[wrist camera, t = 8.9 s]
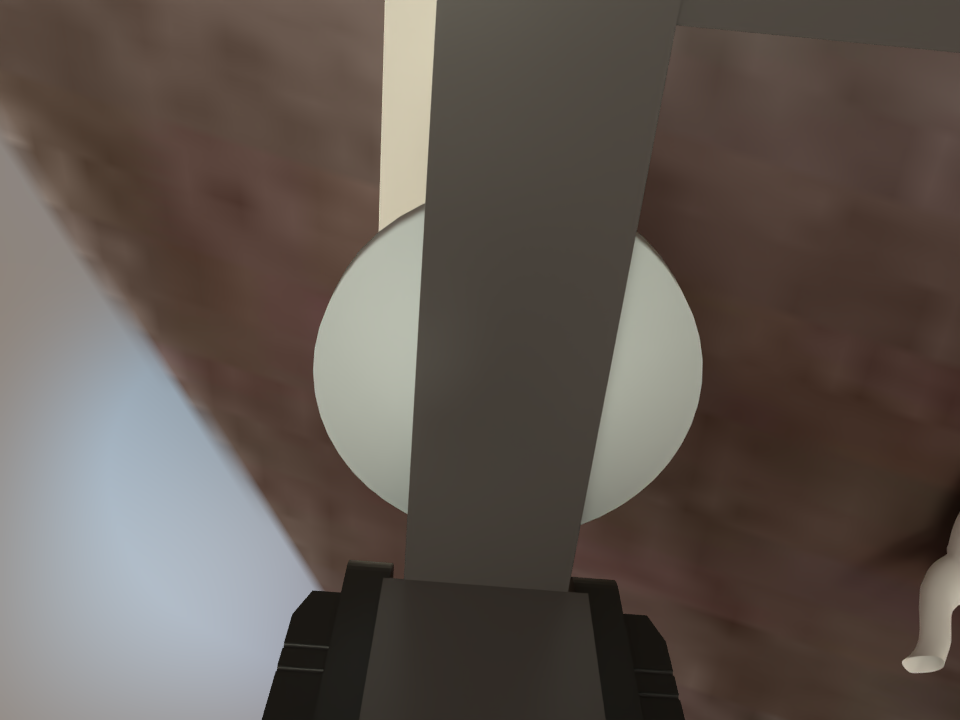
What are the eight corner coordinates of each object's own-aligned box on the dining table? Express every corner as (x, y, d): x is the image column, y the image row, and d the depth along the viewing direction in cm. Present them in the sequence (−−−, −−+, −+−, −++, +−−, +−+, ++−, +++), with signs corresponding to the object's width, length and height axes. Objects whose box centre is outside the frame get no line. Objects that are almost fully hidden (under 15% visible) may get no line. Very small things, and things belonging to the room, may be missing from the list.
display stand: (393, -117, 26) (332, -147, 16) (634, -93, 26) (723, -108, 16) (376, 440, 37) (332, 634, 26) (550, 453, 37) (572, 651, 27)
